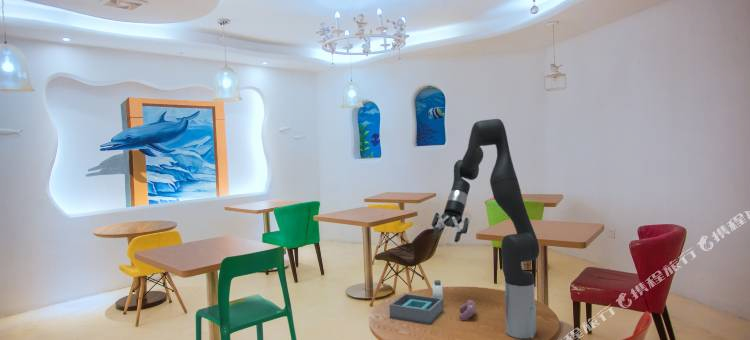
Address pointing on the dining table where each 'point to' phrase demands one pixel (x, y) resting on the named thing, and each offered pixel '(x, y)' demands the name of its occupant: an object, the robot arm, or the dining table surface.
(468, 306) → the video game controller
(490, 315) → the dining table surface
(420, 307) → the walled box
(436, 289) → the plug
